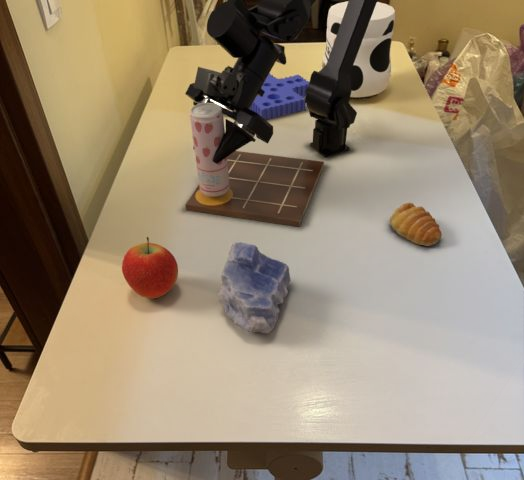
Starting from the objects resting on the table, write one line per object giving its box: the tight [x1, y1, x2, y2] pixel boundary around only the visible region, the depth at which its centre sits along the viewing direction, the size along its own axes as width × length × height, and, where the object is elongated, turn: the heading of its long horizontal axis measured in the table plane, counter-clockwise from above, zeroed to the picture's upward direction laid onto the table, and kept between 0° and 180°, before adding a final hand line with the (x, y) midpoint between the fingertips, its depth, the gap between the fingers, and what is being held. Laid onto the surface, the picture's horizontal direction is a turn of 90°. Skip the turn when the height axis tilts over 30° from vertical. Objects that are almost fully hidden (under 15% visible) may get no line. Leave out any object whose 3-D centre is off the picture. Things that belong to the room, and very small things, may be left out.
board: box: [184, 150, 325, 228], centre depth 102 cm, size 22×22×1 cm
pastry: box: [389, 202, 443, 247], centre depth 90 cm, size 9×7×4 cm
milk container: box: [320, 0, 396, 101], centre depth 126 cm, size 17×17×18 cm
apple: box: [121, 236, 179, 299], centre depth 79 cm, size 8×8×10 cm
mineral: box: [217, 241, 292, 334], centre depth 77 cm, size 14×10×10 cm
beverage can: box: [189, 103, 230, 196], centre depth 92 cm, size 6×6×15 cm
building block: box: [234, 72, 310, 121], centre depth 130 cm, size 25×24×3 cm
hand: (204, 156), depth 92 cm, fingers closed on beverage can, 5 cm apart
